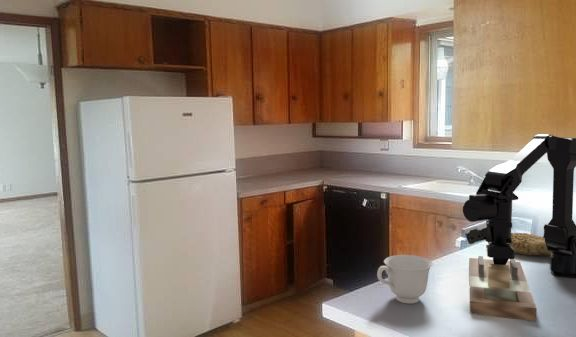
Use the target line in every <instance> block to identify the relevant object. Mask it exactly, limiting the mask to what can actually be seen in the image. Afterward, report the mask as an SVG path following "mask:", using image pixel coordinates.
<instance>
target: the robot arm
mask: <svg viewBox="0 0 576 337" xmlns="http://www.w3.org/2000/svg"><path fill="white" fill-rule="evenodd" d="M545 155H546V157H547V161H548V163H549V164H550V165H551V167H552V169H553V175H552V176H553V177H552V179H553V180H552V181H553V182H552V210H551V212H552V213H551V214H552V217H551V220H550V221H549V222H548V223H545V224H544V226H543V236H542V237H543V238H544V239H545V243H546V247H547V250H548V251H552V254H551V255H549V271H550V272H551V273H552V275H553V276H556V277H567V278H576V223H575V221H574V219H573V210H574V209H573V206H574V204H573V203H574V179H575V178H574V177H575V174H574V172H575V168H576V137H560V136H556V135H553V134H541V133H540V134H536V135H534V136H532V140H531V141H529V142H528V143H527V144H526V145H525V146H524V147H523V148H522V149H520V150H519V151H518V152H517V153H515V155H514V156H512V158H510V159H509V160H508V161H506V162H504V163H501V164H498V165H496V166H494V167H492V168H490V169H489V170H488V171H487V172H486V173H485V175H484V178H483V179H482V181H481V183H480V185H479V187H478V189H477V190H476V192H475V194H469V196H468V199H467V200H466V201H465V202H464V204H463V206H462V213H463V217H464V218H465V219H466V220H467V221H469V222H471V223H475V222H481V221H485V224H482V225H481V224H480V225H477V226H473V227H469V228H466V229H465V230H464V234H465V237H466V240H467V243H468V244H469V245H472V244H475V243H477V242H482V241H485V242H487V243H488V242H490V244H486V245H485V247H486V256H487V257H488V258H492V260H493V262H494V264H499V265H506V263H507V261H510V259H515V260H516V258H515V257H516V256H515V255H516V253H515V250H514V248H513V247H512V246H511V245H510V244H506V243H512V239H511V233H512V228H513V222H512V221H513V220H512V217H513V216H512V215H513V214H512V213H513V201H517V200H519V196H517V194H515V193H514V192H515V191H516V190H517V189H518V187H519V186H520V185H521V183H522V182H523V175H524V174H525V173H527V171H528V170H530V169H531V167H533V166H534V165H536V163H537V162H538V161H539V160H541V159H542V158H543V157H544V156H545Z"/></svg>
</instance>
